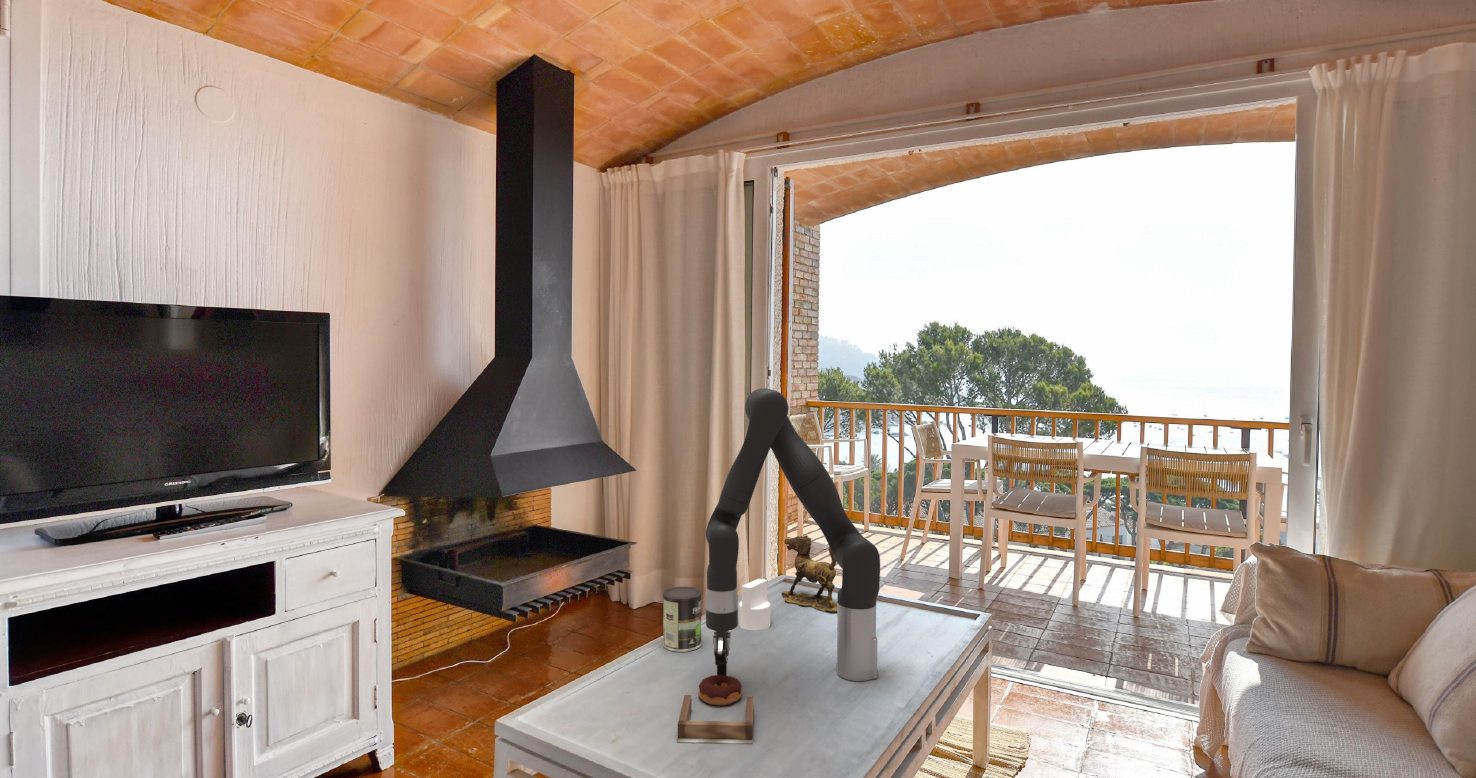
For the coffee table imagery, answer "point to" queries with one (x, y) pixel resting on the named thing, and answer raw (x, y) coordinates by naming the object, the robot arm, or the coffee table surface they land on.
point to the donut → (720, 689)
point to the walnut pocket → (715, 727)
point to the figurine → (811, 577)
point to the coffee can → (682, 619)
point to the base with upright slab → (754, 606)
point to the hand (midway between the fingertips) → (721, 678)
